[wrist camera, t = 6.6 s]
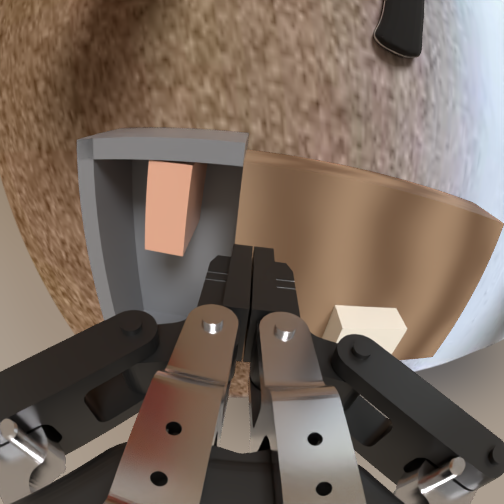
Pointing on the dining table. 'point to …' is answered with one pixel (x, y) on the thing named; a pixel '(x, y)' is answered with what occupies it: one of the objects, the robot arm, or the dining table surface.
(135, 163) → the box
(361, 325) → the cream block
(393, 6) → the kitchen cleaver
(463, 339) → the dining table surface
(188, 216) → the terracotta tile
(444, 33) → the dining table surface
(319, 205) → the walnut board
